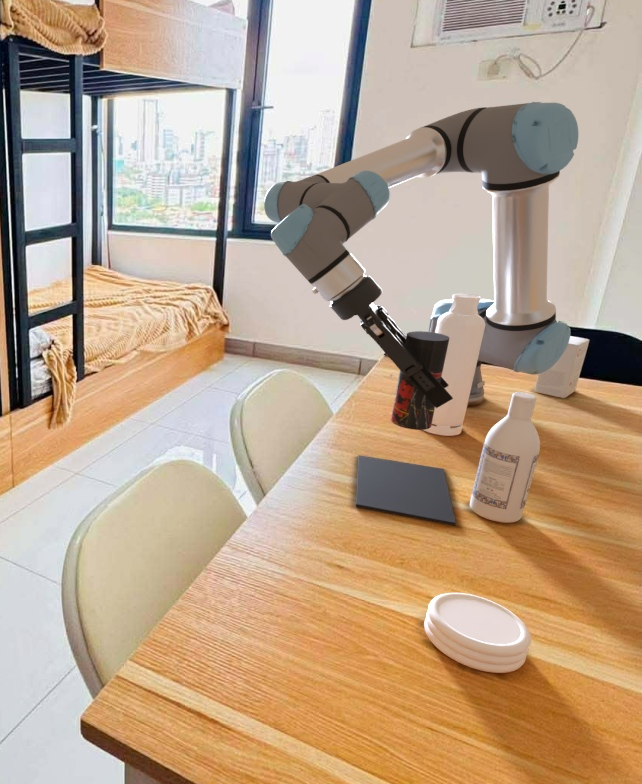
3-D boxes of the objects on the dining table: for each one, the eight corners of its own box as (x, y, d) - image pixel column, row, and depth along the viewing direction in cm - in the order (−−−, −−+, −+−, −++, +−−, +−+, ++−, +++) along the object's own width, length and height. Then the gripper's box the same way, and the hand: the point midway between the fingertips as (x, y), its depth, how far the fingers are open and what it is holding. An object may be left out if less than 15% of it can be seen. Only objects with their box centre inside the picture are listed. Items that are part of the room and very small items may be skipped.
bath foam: (502, 501, 103) (531, 387, 96) (531, 524, 96) (565, 403, 90) (459, 501, 103) (486, 387, 96) (486, 524, 96) (517, 403, 90)
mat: (358, 457, 119) (358, 455, 119) (443, 471, 113) (443, 468, 113) (355, 506, 102) (356, 504, 102) (455, 525, 96) (456, 523, 96)
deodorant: (436, 431, 101) (455, 341, 96) (396, 428, 103) (413, 340, 97) (424, 417, 107) (441, 332, 102) (386, 415, 108) (402, 330, 103)
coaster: (540, 651, 72) (548, 626, 70) (498, 689, 66) (506, 663, 65) (449, 603, 79) (455, 580, 78) (406, 634, 74) (411, 610, 73)
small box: (544, 384, 156) (558, 333, 151) (575, 391, 151) (590, 339, 146) (532, 391, 151) (546, 339, 147) (564, 398, 146) (579, 345, 142)
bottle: (464, 438, 126) (496, 301, 117) (419, 432, 129) (446, 298, 120) (457, 423, 134) (486, 293, 124) (414, 418, 136) (439, 290, 127)
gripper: (331, 293, 112) (417, 391, 111) (323, 315, 96) (424, 429, 95) (368, 265, 109) (458, 366, 107) (367, 283, 92) (472, 402, 91)
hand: (442, 395), depth 101 cm, fingers closed on deodorant, 6 cm apart
